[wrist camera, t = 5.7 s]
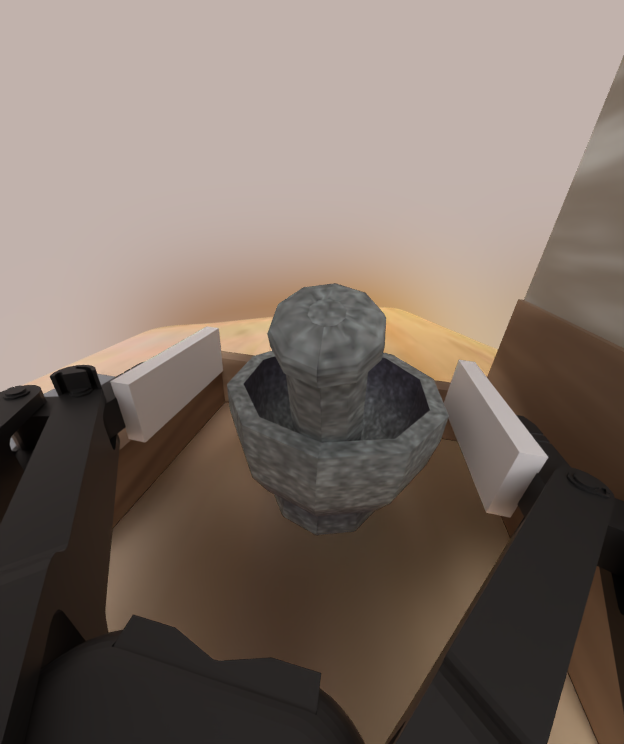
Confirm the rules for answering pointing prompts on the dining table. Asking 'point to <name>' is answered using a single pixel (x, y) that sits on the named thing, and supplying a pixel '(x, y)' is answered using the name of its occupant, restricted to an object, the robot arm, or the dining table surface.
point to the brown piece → (522, 380)
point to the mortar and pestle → (333, 411)
